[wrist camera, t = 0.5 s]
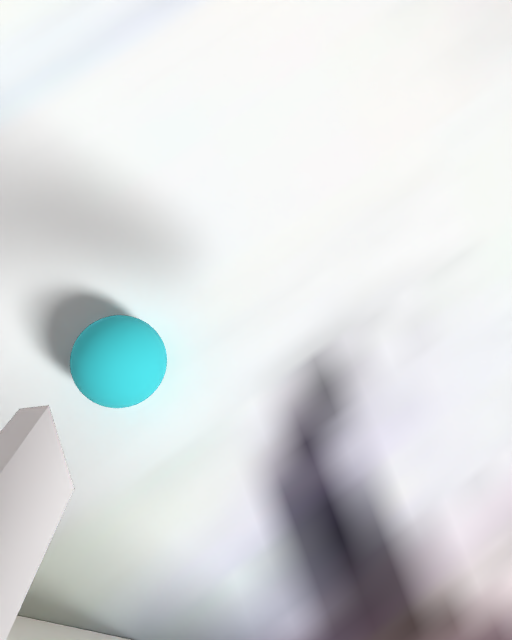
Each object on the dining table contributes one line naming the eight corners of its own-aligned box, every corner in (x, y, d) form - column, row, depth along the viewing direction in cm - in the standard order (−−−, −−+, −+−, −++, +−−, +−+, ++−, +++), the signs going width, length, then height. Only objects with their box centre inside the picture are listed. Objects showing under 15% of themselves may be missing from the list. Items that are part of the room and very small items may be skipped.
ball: (157, 413, 26) (145, 423, 21) (74, 392, 26) (41, 398, 21) (180, 332, 27) (173, 324, 22) (99, 311, 26) (74, 297, 21)
